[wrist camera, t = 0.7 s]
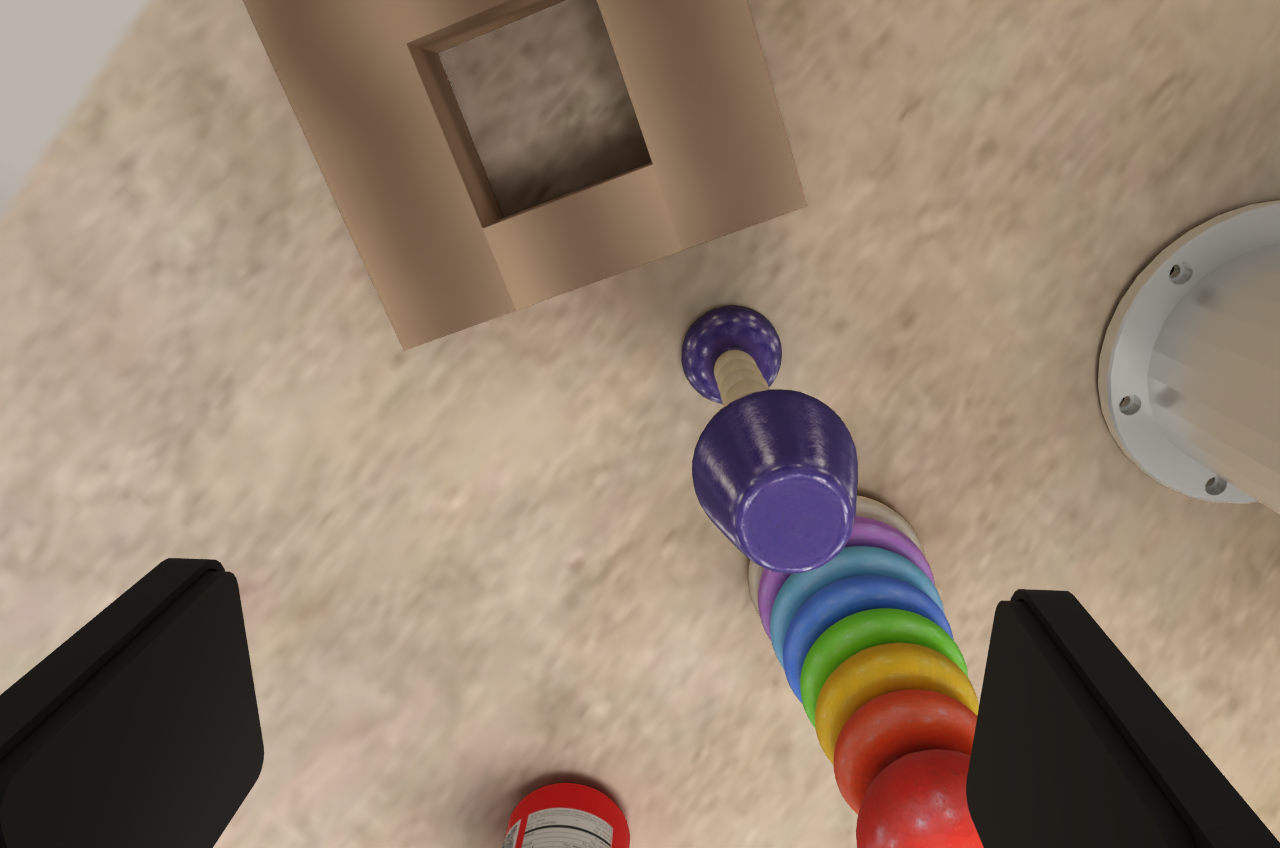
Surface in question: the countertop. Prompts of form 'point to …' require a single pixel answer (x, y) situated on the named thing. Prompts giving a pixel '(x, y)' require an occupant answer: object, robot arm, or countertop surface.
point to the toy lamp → (767, 449)
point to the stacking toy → (879, 681)
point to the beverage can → (567, 820)
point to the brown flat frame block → (456, 181)
